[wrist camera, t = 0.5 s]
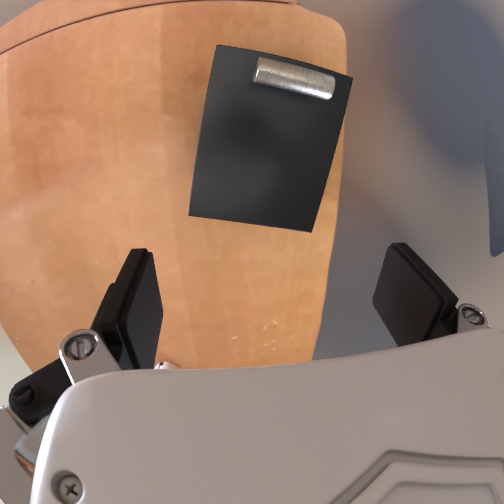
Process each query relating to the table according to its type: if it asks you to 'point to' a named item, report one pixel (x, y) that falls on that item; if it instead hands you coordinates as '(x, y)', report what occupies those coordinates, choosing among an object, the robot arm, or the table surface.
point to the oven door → (266, 139)
